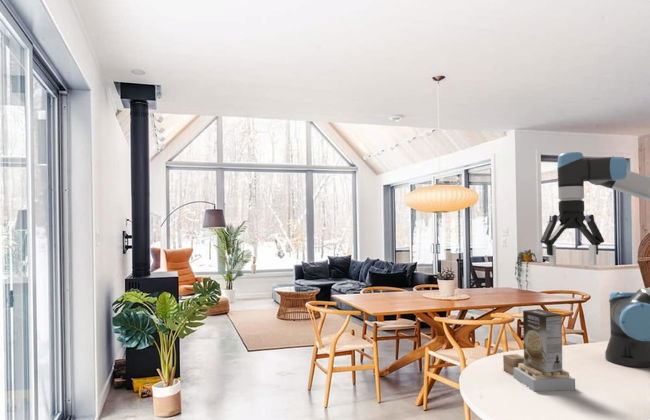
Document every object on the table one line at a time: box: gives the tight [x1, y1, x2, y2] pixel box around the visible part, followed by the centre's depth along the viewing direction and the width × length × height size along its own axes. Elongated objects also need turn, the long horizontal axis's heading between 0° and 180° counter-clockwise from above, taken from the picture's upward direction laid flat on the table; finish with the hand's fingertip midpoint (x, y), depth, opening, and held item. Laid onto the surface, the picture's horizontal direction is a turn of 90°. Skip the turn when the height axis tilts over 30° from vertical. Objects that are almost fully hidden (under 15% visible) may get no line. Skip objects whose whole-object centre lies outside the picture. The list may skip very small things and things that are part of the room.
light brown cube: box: [502, 353, 524, 376], centre depth 150 cm, size 5×5×5 cm
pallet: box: [518, 363, 570, 379], centre depth 140 cm, size 10×10×2 cm
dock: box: [513, 367, 576, 392], centre depth 140 cm, size 12×12×3 cm
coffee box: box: [522, 308, 563, 373], centre depth 140 cm, size 9×6×16 cm
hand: (572, 265), depth 157 cm, fingers open, 13 cm apart
